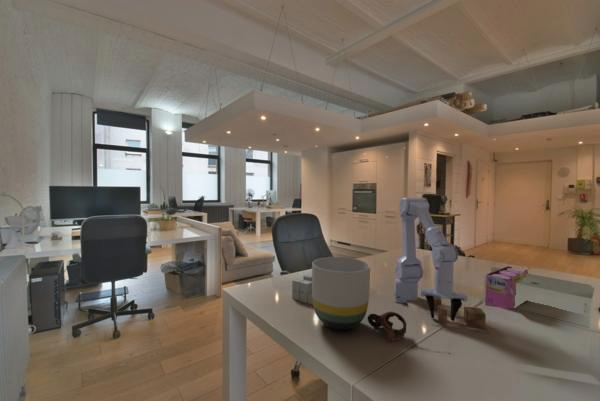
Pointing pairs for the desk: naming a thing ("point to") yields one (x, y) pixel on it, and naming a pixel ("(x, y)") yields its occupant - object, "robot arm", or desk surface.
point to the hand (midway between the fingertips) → (442, 318)
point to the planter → (340, 291)
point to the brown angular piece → (448, 322)
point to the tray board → (457, 328)
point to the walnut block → (474, 317)
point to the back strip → (438, 303)
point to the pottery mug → (387, 324)
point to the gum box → (503, 287)
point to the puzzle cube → (303, 289)
